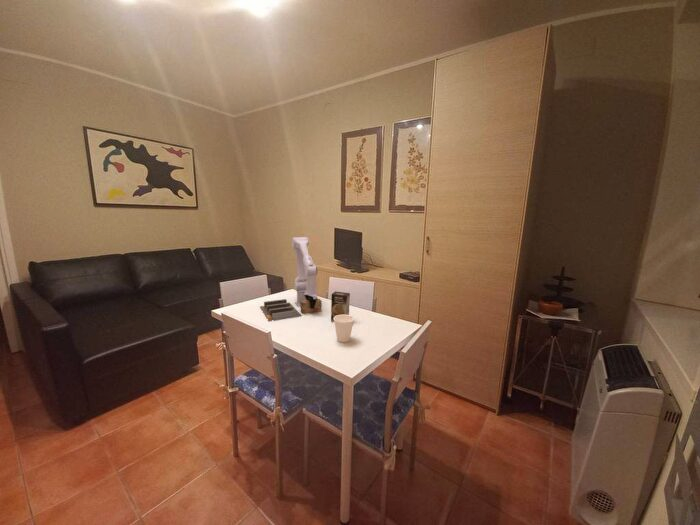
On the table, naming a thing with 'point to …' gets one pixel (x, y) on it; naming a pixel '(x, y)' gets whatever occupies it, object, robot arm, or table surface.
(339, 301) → the coffee box
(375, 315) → the table surface
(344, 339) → the cup
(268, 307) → the rack
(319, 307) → the brown wooden block
